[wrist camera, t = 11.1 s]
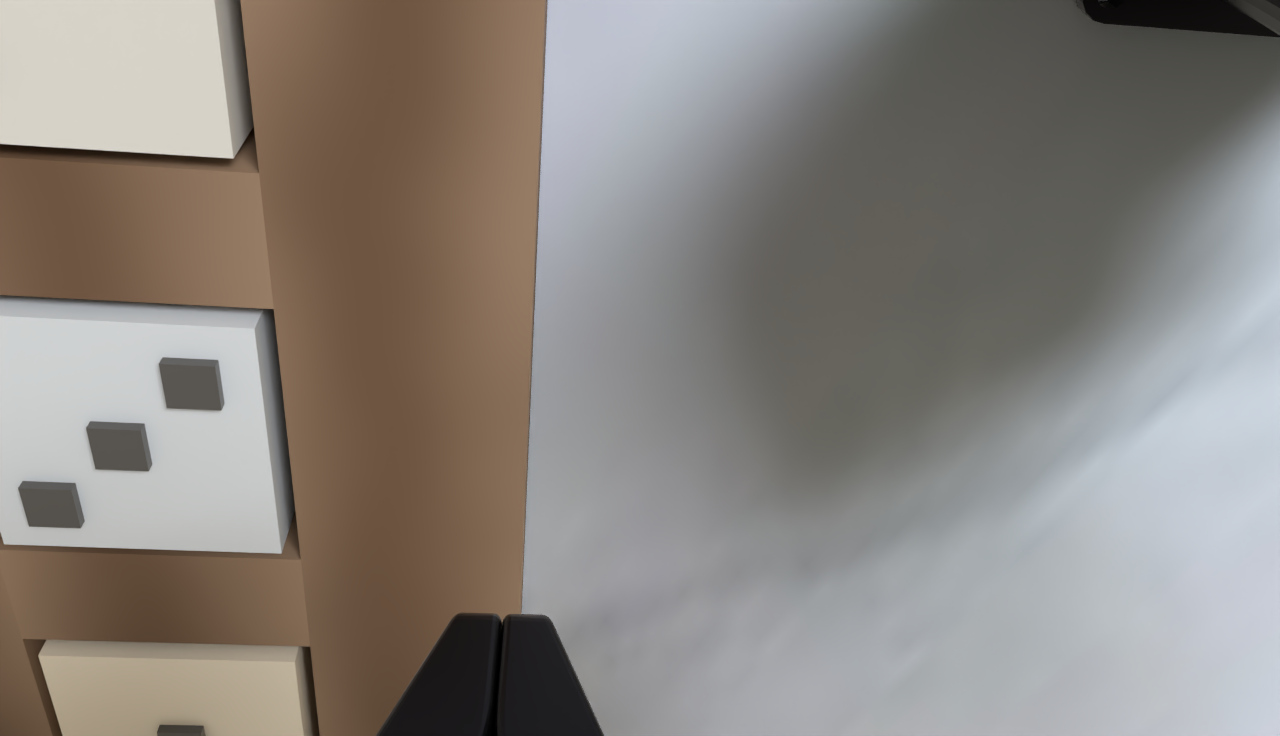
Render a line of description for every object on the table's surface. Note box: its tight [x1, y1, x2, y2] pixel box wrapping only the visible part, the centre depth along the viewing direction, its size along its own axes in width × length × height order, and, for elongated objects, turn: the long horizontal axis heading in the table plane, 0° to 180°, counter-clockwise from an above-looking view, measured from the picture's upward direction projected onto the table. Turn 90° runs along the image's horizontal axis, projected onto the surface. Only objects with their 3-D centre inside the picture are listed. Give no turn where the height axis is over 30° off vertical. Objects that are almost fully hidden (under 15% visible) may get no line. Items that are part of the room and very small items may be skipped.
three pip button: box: [0, 295, 295, 554], centre depth 21 cm, size 5×5×3 cm
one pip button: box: [38, 640, 320, 736], centre depth 25 cm, size 5×5×3 cm
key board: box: [0, 0, 547, 736], centre depth 21 cm, size 14×24×3 cm, turn 175°
